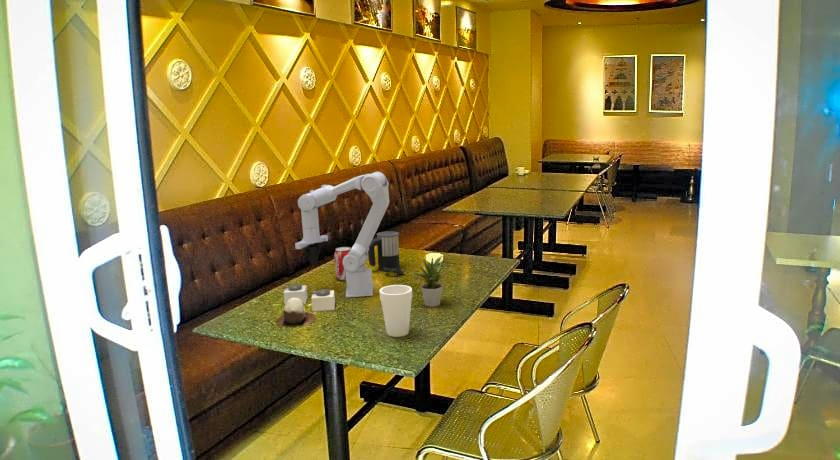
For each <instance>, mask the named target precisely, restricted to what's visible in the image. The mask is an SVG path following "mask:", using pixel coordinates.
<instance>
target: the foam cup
mask: <svg viewBox="0 0 840 460" xmlns="http://www.w3.org/2000/svg"><path fill="white" fill-rule="evenodd" d="M412 288H413V287H411V286H409V285H404V284H392V285H386V286H383V287H381V288H380V289H379V300H380V303H381V309H382V314H383V320H384V324H385V330H386V331H385V332H386V334H387V335H388V336H389V337H393V338H394V337H396V338H397V337H404V336H407V335H408V334H409V332H410V320H411V312H412V311H411V309H412V299H413V289H412Z"/></svg>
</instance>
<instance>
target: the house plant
mask: <svg viewBox="0 0 840 460" xmlns="http://www.w3.org/2000/svg"><path fill="white" fill-rule="evenodd" d="M419 257H420V258H421V262H422V264H423V265H424V267H425V268H423V267H422V266H421V265H420V264H418V263H416V262H413V265H416V266H417V267H418V268H419V269H420V270H421V271H422V272H417V271H416V272H415V271H408V273H409V274H411V275H413V276H414V278H413V282H416V281H418V280H422V281H423V284H422V285H420V288H421V289H420V290H421V295H422V298H423V302H424V306H425V307H438V306H440V304H441V298H442V291H443V284H441V283H439V281H440V280H441V278H443V277H448V276H449V277H450V275H449V274H446V275H441V274H442V272H441V271H442V270H443V269H444V268H445V267H446V265H445V263H446V261H444V259H442V258H443V257H444V255H440V257H438V258H436V259H435V261H434V257H432V258H431V262H429V261H428V260H426V259H425V258H423V257H422V256H419ZM443 261H444V263H443ZM408 263H410V264H412V262H408ZM442 263H443V264H442Z"/></svg>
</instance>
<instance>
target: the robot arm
mask: <svg viewBox="0 0 840 460" xmlns="http://www.w3.org/2000/svg"><path fill="white" fill-rule="evenodd" d="M355 189H356V190H359V191H364V193H366V195H367V196H368V197H369V198H370V201H371V202H372V205H371V208H370V209H369V212H368V214H367V216H366V219H365V220H364V223H363V225H362V227H361V230H360V231H359V233H358V236H357V238H356V240H355V242H354V244H353V245H352V247H350V248H351V249H350V252H349V253H348V254H347V255H346V256H345V257H344V258H343V266H344V268H345V269H346V280H345V282H346V291H345V297H346V298H356V297H369V296H374V289H375V288H374V287H375V285H374V283H373V272H372V271H373V268H367V265H366V263H367V261H368V260H369V257H368V251H369V245H370V243H371V241H372V239H374V236H375V235H376V234H377V233H376V232H377V231H378V228H379V226H380V224H381V222H382V220H383V217H384V216H385V213H386V211H387V209H388V207H389V204H390V194H389V192H390V191H389V181H388V179H387V177H386V175H385V174H384V173H383V172H382V171H374V172H372V173H365V174H362V175H358V176H355V177H352V178H351V179H348V180H346V181H344V182H341V183H340V184H337V185H335V186H333V185H332V184H331V185H330V184H322V185H321V187H320V188H317V189H311V190H310V191H309V192H308V193H305V194H304V193H303V194H302V195H301V196H300V197H299V198H298V199H297V206H298V209H300V211H301V225H302V227H301V228H302V235H303V237H302V238H301V240H300V241H298V242H295V243H294V244H295V245H294V246H295V250H301V249H303V251H304V252H305V254H306V255H307V258H308V261H309V263H310V265H312V266H315V265H316V266H317V265H318V261H319V256H320V253H321V250H322V248H323V242H328V241H329V237H328V235H327V234H324V235H323V234H322V235H320V224H319V223H320V221H319V210H318V208H319V207H321V206H324V205H326V204H329V203H331V202H334V201H336V199H337V197H338V195H342V194H343V193H346V192H348V191H352V190H355ZM321 243H322V244H321Z"/></svg>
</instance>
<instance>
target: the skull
mask: <svg viewBox="0 0 840 460" xmlns="http://www.w3.org/2000/svg"><path fill="white" fill-rule="evenodd" d="M282 311H283V313H282V314H283V315H281V316H279V317H278V318H277V319H276V322H275V323H276V325H277V326H278V327H281V328H284V327H290V326H309V325H310V324H312V323H313V322H315V320H316V315H315V313H311V312H308V311H306V309H305V304H304V302H303V301H302V300H301V299H299V298H291V299H289V300H288V301H287V302H286V305H285V304H284V307H283V310H282Z"/></svg>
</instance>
